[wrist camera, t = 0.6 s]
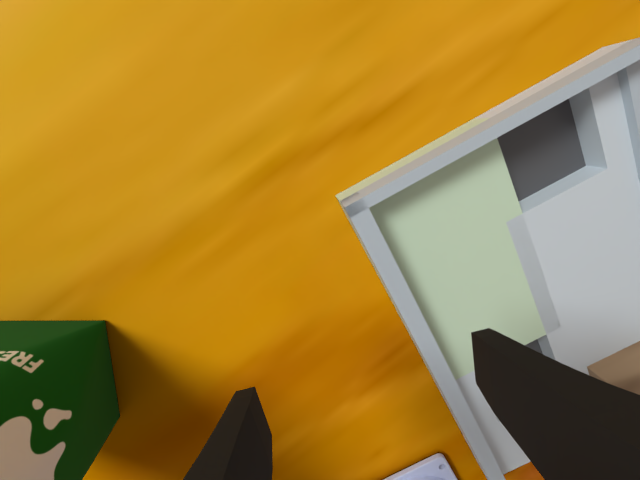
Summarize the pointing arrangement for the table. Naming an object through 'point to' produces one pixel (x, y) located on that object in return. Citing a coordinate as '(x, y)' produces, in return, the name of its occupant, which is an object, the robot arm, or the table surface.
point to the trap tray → (516, 234)
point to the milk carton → (54, 398)
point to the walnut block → (620, 369)
